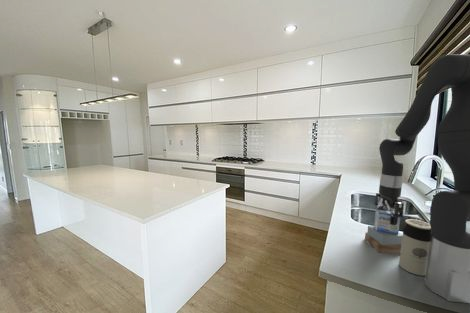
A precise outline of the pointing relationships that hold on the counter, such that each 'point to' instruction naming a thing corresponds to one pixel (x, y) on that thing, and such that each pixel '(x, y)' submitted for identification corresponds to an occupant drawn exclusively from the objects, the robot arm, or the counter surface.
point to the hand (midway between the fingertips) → (386, 220)
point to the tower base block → (380, 247)
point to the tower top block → (385, 237)
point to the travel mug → (415, 246)
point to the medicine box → (385, 222)
